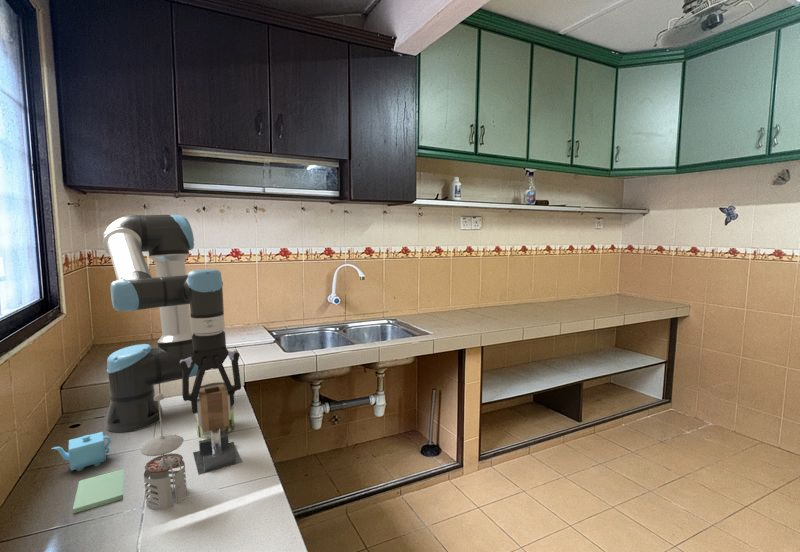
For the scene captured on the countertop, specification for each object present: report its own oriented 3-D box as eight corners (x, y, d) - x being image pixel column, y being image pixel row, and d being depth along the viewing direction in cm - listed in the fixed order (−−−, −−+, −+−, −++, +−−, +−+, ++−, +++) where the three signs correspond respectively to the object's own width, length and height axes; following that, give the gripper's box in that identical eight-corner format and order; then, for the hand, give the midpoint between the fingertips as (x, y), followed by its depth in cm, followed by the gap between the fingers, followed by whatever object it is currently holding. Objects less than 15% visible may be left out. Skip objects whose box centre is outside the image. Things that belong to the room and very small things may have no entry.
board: (79, 484, 98) (79, 480, 98) (130, 471, 104) (129, 467, 104) (73, 513, 88) (72, 509, 88) (129, 497, 94) (128, 492, 93)
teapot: (53, 479, 101) (50, 450, 100) (54, 468, 106) (51, 440, 105) (113, 462, 108) (110, 434, 107) (111, 452, 113) (109, 426, 112)
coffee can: (233, 423, 128) (230, 379, 127) (236, 438, 119) (233, 391, 117) (196, 431, 124) (193, 385, 122) (196, 447, 115) (192, 398, 113)
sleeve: (200, 422, 107) (197, 388, 106) (225, 416, 110) (223, 384, 109) (203, 432, 102) (200, 397, 101) (229, 425, 105) (227, 391, 104)
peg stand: (193, 457, 109) (190, 423, 108) (233, 446, 115) (231, 413, 114) (199, 480, 99) (196, 443, 98) (242, 467, 105) (240, 431, 103)
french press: (181, 484, 98) (172, 382, 95) (204, 504, 91) (196, 394, 88) (134, 506, 90) (123, 395, 88) (155, 530, 83) (144, 410, 80)
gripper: (165, 341, 95) (173, 437, 98) (251, 329, 105) (256, 417, 108) (163, 334, 101) (170, 424, 104) (245, 324, 111) (249, 406, 114)
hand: (214, 420), depth 106 cm, fingers closed on sleeve, 6 cm apart
